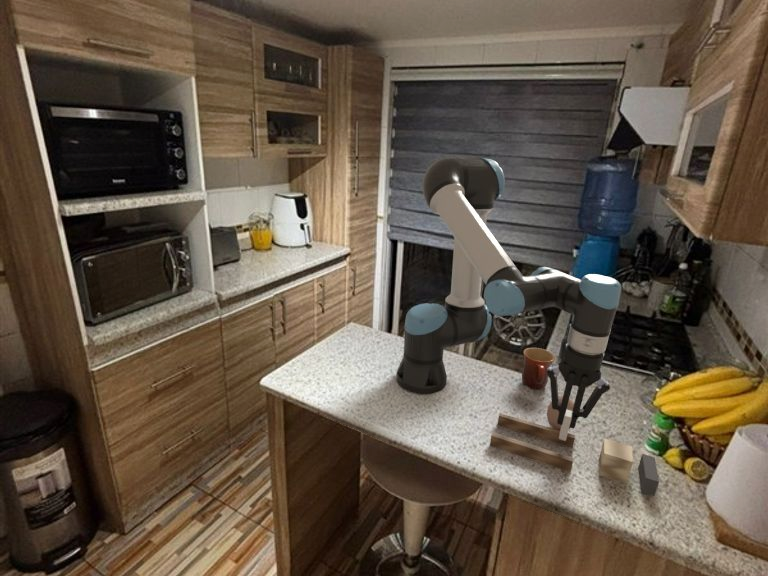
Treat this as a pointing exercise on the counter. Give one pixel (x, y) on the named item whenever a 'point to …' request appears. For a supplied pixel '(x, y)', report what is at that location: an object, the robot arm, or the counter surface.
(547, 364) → the mug
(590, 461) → the counter surface
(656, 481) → the block
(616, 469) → the block
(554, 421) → the egg
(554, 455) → the chute
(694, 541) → the counter surface
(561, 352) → the ink bottle
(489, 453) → the counter surface
